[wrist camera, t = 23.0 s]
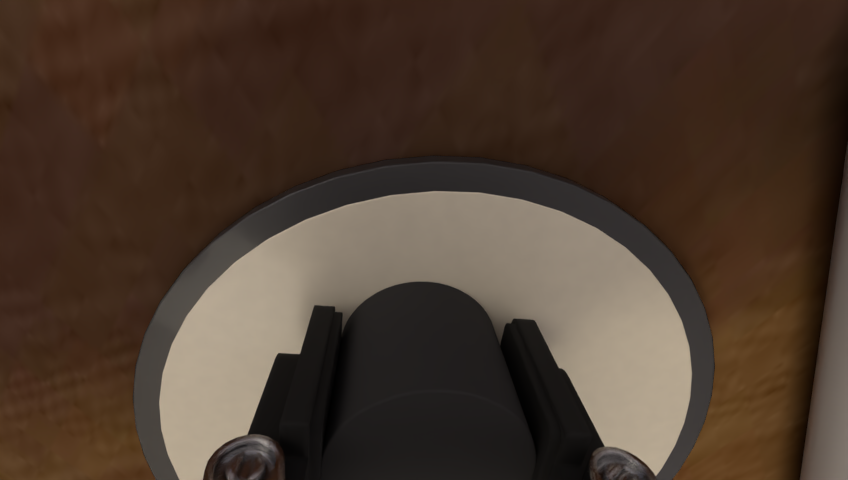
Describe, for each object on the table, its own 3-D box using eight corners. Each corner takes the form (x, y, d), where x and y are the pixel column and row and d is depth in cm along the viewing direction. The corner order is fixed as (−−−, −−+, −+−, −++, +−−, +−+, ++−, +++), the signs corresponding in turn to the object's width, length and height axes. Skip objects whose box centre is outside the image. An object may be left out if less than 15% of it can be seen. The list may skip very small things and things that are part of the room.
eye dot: (336, 403, 13) (315, 542, 9) (344, 274, 11) (321, 385, 8) (480, 409, 14) (512, 544, 10) (509, 286, 12) (561, 396, 8)
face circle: (176, 583, 17) (169, 601, 17) (91, 115, 10) (73, 120, 9) (609, 581, 19) (615, 598, 19) (804, 191, 12) (824, 199, 11)
